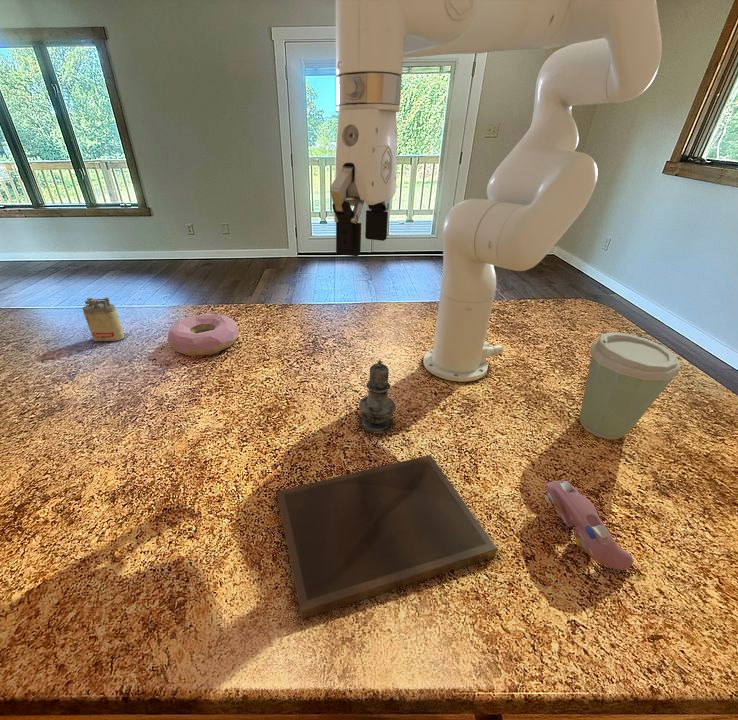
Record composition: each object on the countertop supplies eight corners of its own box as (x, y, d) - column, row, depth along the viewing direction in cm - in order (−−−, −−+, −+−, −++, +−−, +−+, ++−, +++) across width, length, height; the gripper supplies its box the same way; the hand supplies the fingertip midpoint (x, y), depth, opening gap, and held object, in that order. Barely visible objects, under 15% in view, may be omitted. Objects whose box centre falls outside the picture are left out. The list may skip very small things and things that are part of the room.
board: (429, 462, 55) (430, 454, 54) (495, 556, 42) (497, 548, 42) (277, 499, 49) (276, 491, 49) (301, 619, 37) (301, 611, 36)
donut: (253, 338, 89) (250, 319, 87) (202, 367, 78) (197, 346, 76) (208, 324, 97) (204, 305, 94) (155, 348, 86) (150, 328, 83)
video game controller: (544, 508, 49) (533, 476, 46) (579, 495, 49) (570, 461, 45) (595, 585, 41) (586, 552, 38) (638, 570, 40) (633, 536, 37)
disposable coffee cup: (630, 414, 64) (669, 334, 56) (653, 458, 55) (702, 370, 47) (560, 402, 67) (587, 324, 59) (570, 442, 58) (604, 357, 50)
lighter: (90, 342, 89) (75, 301, 84) (98, 334, 92) (84, 295, 87) (121, 341, 89) (107, 301, 84) (128, 334, 92) (115, 295, 87)
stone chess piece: (392, 436, 59) (398, 372, 53) (355, 432, 60) (357, 368, 54) (395, 413, 64) (400, 352, 58) (361, 409, 65) (362, 348, 59)
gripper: (369, 87, 36) (363, 265, 45) (419, 101, 49) (407, 237, 58) (301, 91, 39) (308, 258, 47) (366, 104, 52) (362, 232, 61)
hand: (362, 246), depth 53 cm, fingers open, 9 cm apart
